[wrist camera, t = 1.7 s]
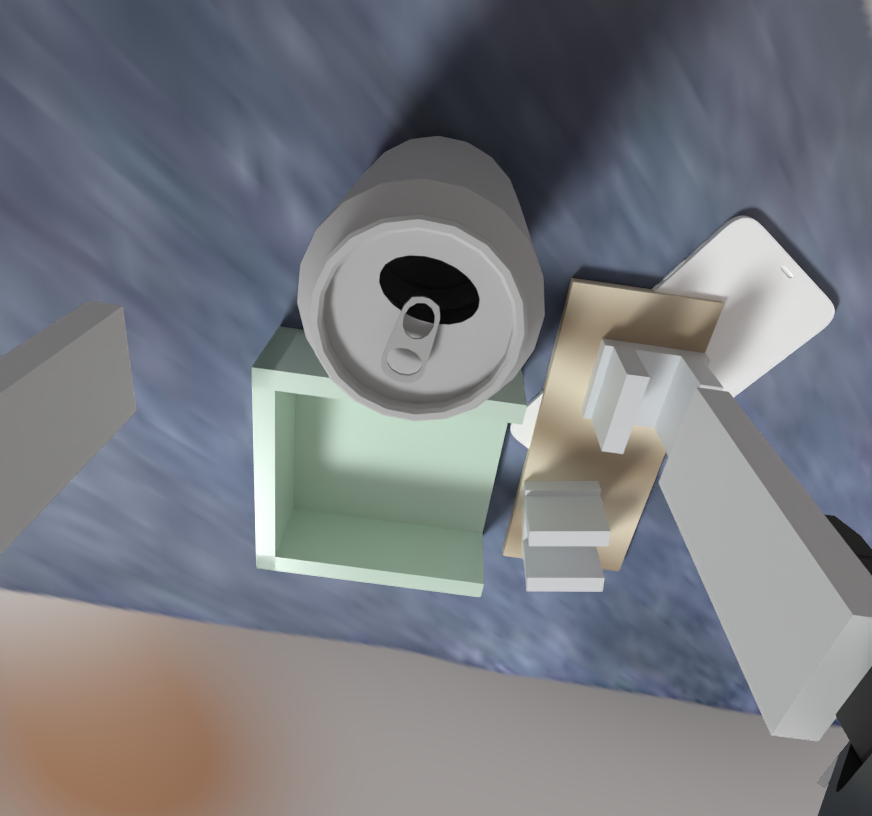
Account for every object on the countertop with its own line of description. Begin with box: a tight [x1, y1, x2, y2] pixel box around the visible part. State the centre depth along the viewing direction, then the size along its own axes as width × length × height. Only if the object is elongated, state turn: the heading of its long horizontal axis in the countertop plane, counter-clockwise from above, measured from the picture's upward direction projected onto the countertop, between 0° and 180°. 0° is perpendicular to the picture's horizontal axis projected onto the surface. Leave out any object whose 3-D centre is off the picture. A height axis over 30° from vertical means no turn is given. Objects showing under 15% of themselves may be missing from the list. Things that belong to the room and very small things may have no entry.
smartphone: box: [510, 215, 835, 449], centre depth 31 cm, size 7×1×15 cm
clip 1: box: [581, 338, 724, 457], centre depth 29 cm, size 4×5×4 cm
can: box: [297, 136, 545, 421], centre depth 22 cm, size 8×8×12 cm
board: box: [503, 278, 724, 571], centre depth 32 cm, size 17×7×1 cm, turn 173°
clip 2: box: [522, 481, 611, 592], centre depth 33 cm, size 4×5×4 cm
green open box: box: [252, 326, 527, 597], centre depth 31 cm, size 12×12×4 cm
